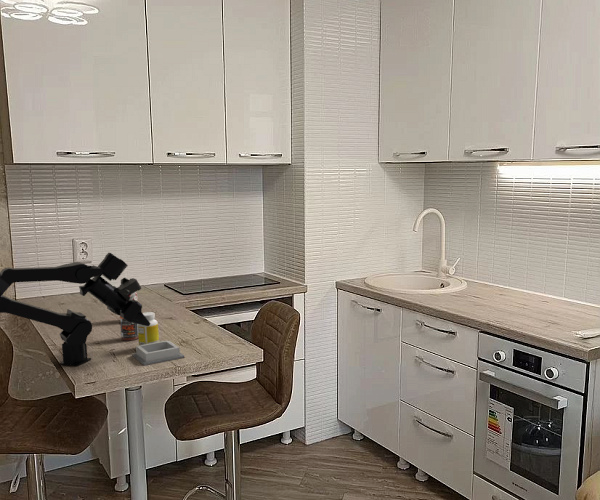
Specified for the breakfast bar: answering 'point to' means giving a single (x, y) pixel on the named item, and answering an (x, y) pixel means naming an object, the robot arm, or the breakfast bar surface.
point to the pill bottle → (148, 330)
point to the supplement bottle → (128, 330)
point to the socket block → (157, 352)
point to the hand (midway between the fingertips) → (144, 322)
